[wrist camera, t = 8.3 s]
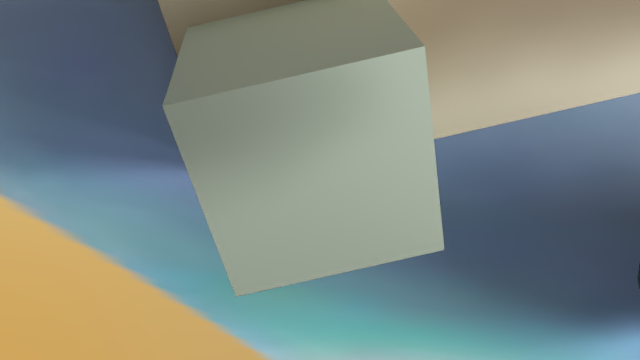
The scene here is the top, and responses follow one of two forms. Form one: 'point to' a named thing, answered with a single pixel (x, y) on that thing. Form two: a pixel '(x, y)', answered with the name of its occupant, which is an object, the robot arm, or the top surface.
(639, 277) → the robot arm
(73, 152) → the top surface
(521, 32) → the board
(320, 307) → the top surface
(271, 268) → the sage block
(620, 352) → the top surface
